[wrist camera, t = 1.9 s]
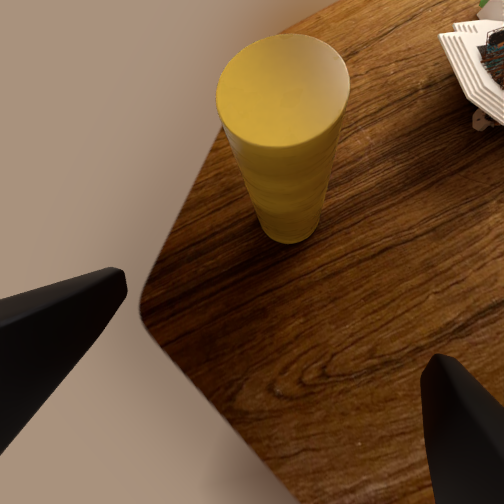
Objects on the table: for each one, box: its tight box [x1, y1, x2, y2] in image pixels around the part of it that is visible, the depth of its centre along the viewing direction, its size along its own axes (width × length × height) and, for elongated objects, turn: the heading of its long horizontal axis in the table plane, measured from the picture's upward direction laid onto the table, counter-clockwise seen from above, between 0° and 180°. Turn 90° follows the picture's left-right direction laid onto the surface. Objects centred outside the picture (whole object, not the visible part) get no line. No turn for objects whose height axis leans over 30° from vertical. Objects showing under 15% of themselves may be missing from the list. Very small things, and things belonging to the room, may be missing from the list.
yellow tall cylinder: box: [216, 34, 350, 244], centre depth 16 cm, size 5×5×13 cm
